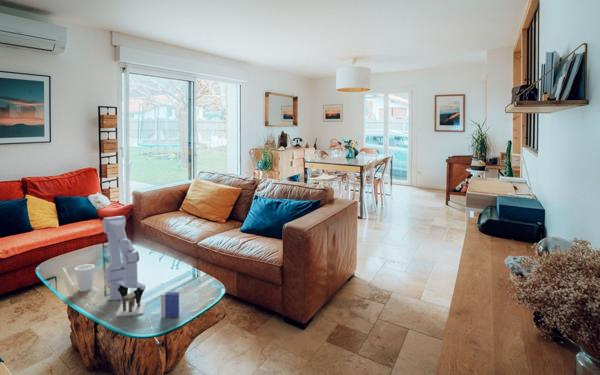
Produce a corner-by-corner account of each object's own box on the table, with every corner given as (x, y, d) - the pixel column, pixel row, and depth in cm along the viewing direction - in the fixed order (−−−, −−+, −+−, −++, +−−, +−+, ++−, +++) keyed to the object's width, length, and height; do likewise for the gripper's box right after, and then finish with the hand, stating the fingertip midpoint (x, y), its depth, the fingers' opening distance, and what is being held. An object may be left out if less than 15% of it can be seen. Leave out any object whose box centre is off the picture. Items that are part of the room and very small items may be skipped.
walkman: (179, 314, 169) (179, 291, 168) (177, 317, 167) (177, 294, 165) (162, 315, 169) (162, 291, 167) (161, 317, 166) (160, 294, 164)
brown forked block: (122, 310, 170) (122, 297, 169) (132, 304, 176) (132, 291, 176) (130, 312, 169) (130, 298, 168) (140, 305, 175) (140, 292, 175)
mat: (121, 305, 177) (121, 304, 177) (146, 303, 180) (146, 301, 180) (115, 316, 165) (115, 315, 165) (142, 314, 169) (142, 312, 169)
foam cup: (84, 285, 199) (83, 263, 198) (99, 286, 198) (98, 264, 197) (71, 292, 190) (70, 269, 188) (86, 293, 189) (86, 270, 187)
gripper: (149, 274, 173) (149, 299, 174) (124, 270, 176) (125, 296, 178) (139, 279, 166) (140, 306, 168) (113, 275, 169) (114, 302, 171)
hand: (131, 301), depth 172 cm, fingers open, 7 cm apart
